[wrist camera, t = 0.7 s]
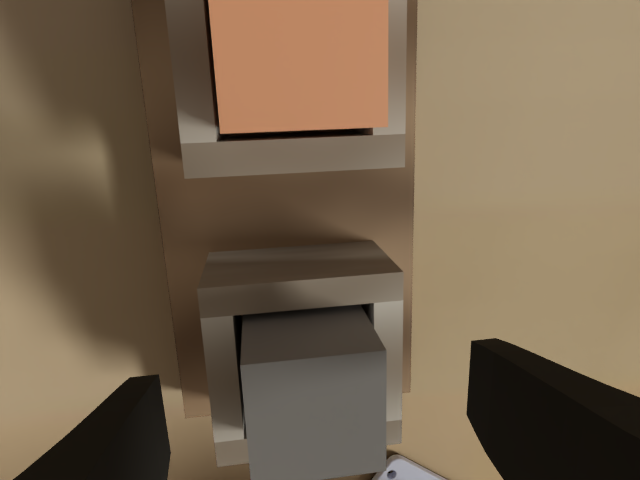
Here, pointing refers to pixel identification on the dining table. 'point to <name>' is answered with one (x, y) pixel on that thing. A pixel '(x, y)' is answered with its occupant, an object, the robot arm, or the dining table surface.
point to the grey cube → (313, 394)
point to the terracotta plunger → (300, 64)
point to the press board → (273, 214)
